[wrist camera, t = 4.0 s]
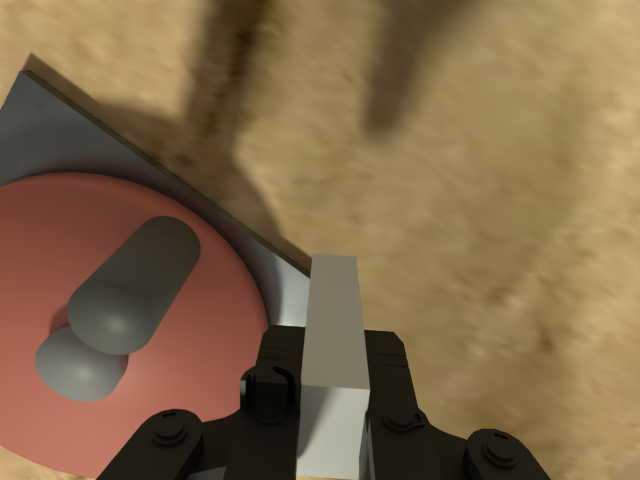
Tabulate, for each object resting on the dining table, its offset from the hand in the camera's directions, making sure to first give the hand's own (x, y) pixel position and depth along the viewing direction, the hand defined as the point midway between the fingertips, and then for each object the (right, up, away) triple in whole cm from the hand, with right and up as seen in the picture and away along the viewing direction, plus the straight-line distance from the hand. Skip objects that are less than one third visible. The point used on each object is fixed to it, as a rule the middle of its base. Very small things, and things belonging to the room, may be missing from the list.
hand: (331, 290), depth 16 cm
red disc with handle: (-11, -2, +7) cm, 13 cm away
